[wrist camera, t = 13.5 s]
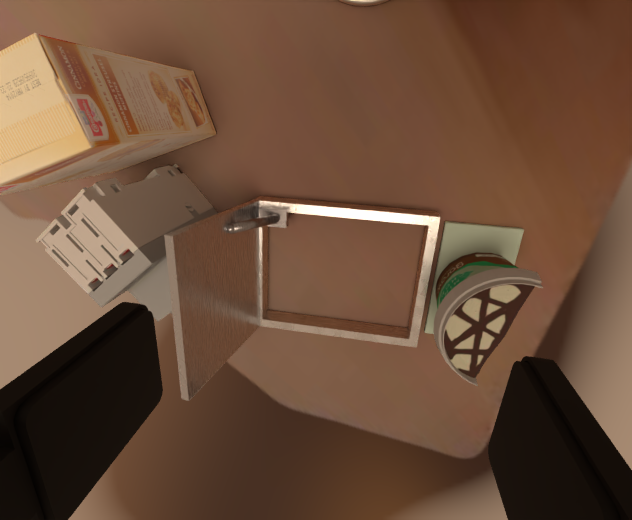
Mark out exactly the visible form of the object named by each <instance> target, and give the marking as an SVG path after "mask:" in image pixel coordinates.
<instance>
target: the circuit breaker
mask: <svg viewBox="0 0 632 520" xmlns="http://www.w3.org/2000/svg"><path fill="white" fill-rule="evenodd" d="M178 167H179V166H178V165H177V164H174V165H173V166H170V165H168V166H164V167H160V168H155V169H154V170H153V171H152V172H151V173H150V174H149V175H148V176H147V177H146V178H145V179H144V180H143V181H139V182H135V183H132V184H128V185H124V186H123V185H122V184H121V183H120V182H119V181H118V180H117V179H116V178H112V179H108V180H104V181H99V182H97V183H95V184H94V185H93V186H91V187H89V188H86V187H85V188H83V189H82V190H81V191H80V192H79V193H78V195H77V196H76V197H75V198H74V199H73V200H72V201H71V202H70V203H69V204H68V205H67V207H66V208H65V209H64V210H63V211H62V212H61V213H62V214H63V215H62V216H60V217H58V218H56V219H55V220H54V221H53V222H52V223H51V224H50V225H49V226H48V227H47V228H46V229H45V231H44V232H43V233H42V234H41V235H40V236H39V237H38V238H37V239H36V242H42V243H43V244H44V245H45V246H46V247H47V248H46V249H45V251H46V252H47V253H48V254H49V255H50V256H51V257H52V258H53V259H54V260H55V261H56V262H57V263H58V264H59V265H60V266H61V267H62V268H63V269H64V270H65V271H66V272H67V273H68V274H69V275H70V276H71V277H72V278H73V279H74V280H75V281H76V282H77V283H78V284H79V285H80V286H81V288H82V289H84V290H85V292H86V293H87V294H89V296H90V297H91V298H92V299H94V301H95V302H96V303H97V304H98V305H99V306H100V307H103V306H105V305H106V304H108V303H109V302H111V301H112V300H114V299H115V298H116V297H118V296H119V295H121V294H122V293H124V292H125V291H127V290H128V291H129V292H130V293H131V294H132V295H133V296H134V297H135V298H136V299H137V300H138V301H139V302H140V303H141V304H143V305H145V306H147V308H148V311H151V312H152V314H153V317H154V318H155V319H156V320H157V321H160V320H161V319H162V318H164V317H165V316H166V315H168V314H169V313H171V314H172V304H171V294H170V285H169V275H168V266H167V256H166V247H165V237H164V235H165V234H167V233H170V232H173V231H175V230H178V229H180V228H183V227H185V226H188V225H190V224H193V223H195V222H198V221H200V220H203V219H205V218H208V217H210V216H213V215H215V214H218V212H217V211H216V210H215V208H213V206H212V205H211V204H210V203H209V201H208V200H207V199H206V198H205V197H204V195H203V194H202V193H201V192H200V191H199V190H198V188H197V187H196V186H195V185H194V184H193V182H192V181H191V180H190V179H189V178H188V177H187V175H186V174H185V173H182V174H181V173H180V172H179V170H178V169H177V168H178Z"/></svg>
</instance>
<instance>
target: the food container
mask: <svg viewBox="0 0 632 520" xmlns="http://www.w3.org/2000/svg"><path fill="white" fill-rule="evenodd" d="M541 282H542V281H541V279H540V277H539V275H538V273H537V272H534V271H530V270H526V269H519V268H517V267H516V266H515V265H513V264H512V263H511V262H509V261H508V260H507V259H505V258H504V257H502V256H501V255H497V254H494V253H477V252H476V253H472V254H468V255H464V256H461V257H459V258H458V259H456V260H454V261H453V262H451V263H449V264H448V266H447V267H446V268H445V269H444V270H443V271H442V272H441V274H440V275H439V278H438V280H437V283H436V301H437V309H438V310H437V312H436V315H435V319H434V328H433V332H434V338H435V342H436V345H437V348H438V349H439V351H440V353H441V355H442V356H443V358H444V359H445V361H446V362H447V364H448V365H449V366H450V367H451V368H452V369H453V370H454V371H455V372H456V373H457V374H458V375H460V376H461V377H462V378H463V379H465V380H466V381H468V382H470V383H472V384H474V385H476V386H478V385H477V381H476V376H477V374H478V373H479V372H480V369H481V367H482V366H483V364H484V363H485V361H486V360H487V358H488V357H489V356H490V354H491V353H492V352H493V350H494V349H495V348H496V347H497V346H498V344H499V343H500V342H501V340H502V339H503V338H504V336H505V335H506V333H507V331H508V329H509V328H510V326H511V324H512V322H513V320H514V318H515V317H516V315H517V313H518V311H519V310H520V308H521V307H522V305H523V304H524V302H525V301H526V299H527V298H528V296H529V294H530V293H531V291H532V290H533V288H534V287H535V286H536V287H540V288H543V287H542V285H541Z"/></svg>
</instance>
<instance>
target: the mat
mask: <svg viewBox="0 0 632 520" xmlns="http://www.w3.org/2000/svg"><path fill="white" fill-rule="evenodd" d="M523 232H524V229H522V228H515V227H504V226H493V225H482V224H471V223H460V222H449V221H445V223H444V229H443V234H442V239H441V245H440V250H439V255H438V260H437V266H436V271H435V276H434V282H433V287H432V292H431V297H430V303H429V308H428V313H427V319H426V324H425V329H424V331H425V333H430V334H434V332H433V328H434V319H435V315H436V312H437V310H438V309H437V301H436V283H437V280H438V278H439V275H440V274H441V272H442V271H443V270H444V269H445V268H446V267H447V266H448V264H449V263H451V262H453V261H454V260H456V259H458V258H459V257H461V256H464V255H468V254H472V253H476V252H477V253H494V254H497V255H501V256H502V257H504V258H505V259H507V260H508V261H509V262H511V263H512V264H513V265H515V261H516V257H517V254H518V250H519V246H520V243H521V239H522V236H523Z"/></svg>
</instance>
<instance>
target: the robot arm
mask: <svg viewBox="0 0 632 520" xmlns="http://www.w3.org/2000/svg"><path fill="white" fill-rule="evenodd" d="M339 1H340V2H344V3H347V4H350V5H354V6H371V5H378V4H381V3H384V2H386V1H389V0H339ZM162 391H163V389H162V381H161V373H160V365H159V358H158V349H157V341H156V334H155V326H154V318H153V314H152V312H151V311H148V308H147V306H145V305H143V304H136V303H129V302H122V303H120V304H119V305H117V306H116V307H114V308H113V309H112V310H110V311H109V312H107V313H106V314H105V315H103V316H102V317H100V318H99V319H98V320H96V321H95V322H94V323H92V324H91V325H90V326H88V327H87V328H85V329H84V330H82V331H81V332H80V333H78V334H77V335H76V336H74V337H73V338H71V339H70V340H68V341H67V342H66V343H64V344H63V345H62V346H60V347H59V348H58V349H56V350H55V351H53V352H52V353H50V354H49V355H48V356H46V357H45V358H43V359H42V360H41V361H39V362H38V363H36V364H35V365H34V366H32V367H31V368H30V369H28V370H27V371H25V372H24V373H23V374H21V375H20V376H18V377H17V378H16V379H15V380H13V381H11V382H10V383H9V384H7V385H6V386H4V387H3V388H2V389H0V520H68V519H69V517H71V515H72V514H73V513H74V511H75V510H76V509H77V507H78V506H79V505H80V504H81V502H82V501H83V500H84V498H85V497H86V496H87V495H88V493H89V492H90V491H91V489H92V488H93V487H94V486H95V484H96V483H97V481H98V480H99V479H100V478H101V477H102V475H103V474H104V473H105V472H106V470H107V469H108V468H109V466H110V465H111V464H112V462H113V461H114V460H115V459H116V457H117V456H118V454H119V453H120V452H121V451H122V450H123V448H124V447H125V445H126V444H127V443H128V442H129V440H130V439H131V438H132V437H133V435H134V434H135V433H136V431H137V430H138V429H139V428H140V426H141V425H142V424H143V422H144V421H145V420H146V419H147V417H148V416H149V414H150V413H151V412H152V411H153V410H154V408H155V407H156V406H157V404H158V403H159V401H160V399H161V396H162ZM488 454H489V460H490V464H491V467H492V470H493V473H494V476H495V479H496V483H497V486H498V489H499V492H500V495H501V498H502V502H503V505H504V508H505V511H506V515H507V518H508V520H632V470H631V469H630V468H629V466H628V464H626V462H625V460H624V459H623V457H622V456H621V455H620V453H619V452H618V450H617V449H616V448H615V446H614V445H613V443H612V442H611V440H610V439H609V438H608V436H607V435H606V433H605V432H604V431H603V429H602V428H601V426H600V425H599V424H598V422H597V421H596V419H595V418H594V416H593V415H592V414H591V412H590V411H589V409H588V408H587V407H586V405H585V404H584V403H583V401H582V400H581V398H580V397H579V395H578V394H577V392H576V391H575V389H574V388H573V387H572V385H571V384H570V382H569V381H568V380H567V378H566V377H565V375H564V374H563V373H562V371H561V370H560V368H559V367H558V366H557V364H556V363H555V362H554V361H553V360H550V359H543V358H536V357H528V356H526V357H524V358H523V359H522V361H521V362H520V361H516V362H515V363H514V364H513V367H512V370H511V373H510V377H509V380H508V383H507V386H506V390H505V393H504V396H503V399H502V403H501V406H500V409H499V413H498V416H497V419H496V422H495V426H494V429H493V432H492V435H491V439H490V442H489V447H488Z"/></svg>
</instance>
